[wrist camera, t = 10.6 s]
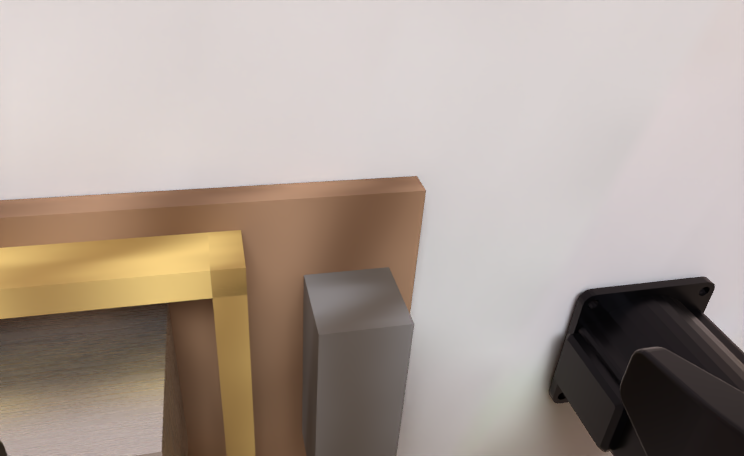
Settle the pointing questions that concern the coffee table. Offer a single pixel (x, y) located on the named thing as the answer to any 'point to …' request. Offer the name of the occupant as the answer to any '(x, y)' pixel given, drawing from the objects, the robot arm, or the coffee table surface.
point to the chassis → (245, 300)
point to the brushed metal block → (91, 384)
